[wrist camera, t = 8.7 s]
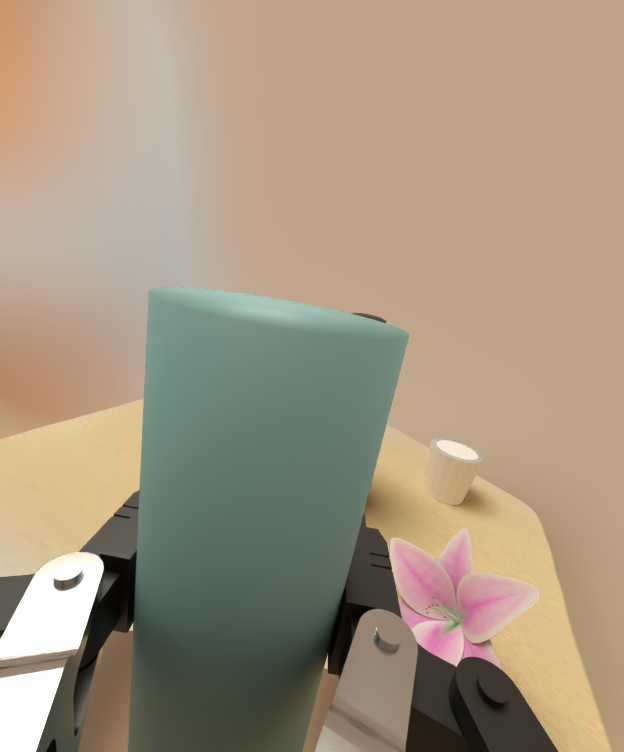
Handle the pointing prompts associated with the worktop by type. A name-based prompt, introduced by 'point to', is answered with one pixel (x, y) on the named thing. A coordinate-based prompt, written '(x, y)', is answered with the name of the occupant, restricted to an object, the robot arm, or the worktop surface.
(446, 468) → the white cylinder
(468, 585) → the lily
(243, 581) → the peg
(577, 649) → the worktop surface
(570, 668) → the worktop surface
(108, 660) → the well block
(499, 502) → the worktop surface
